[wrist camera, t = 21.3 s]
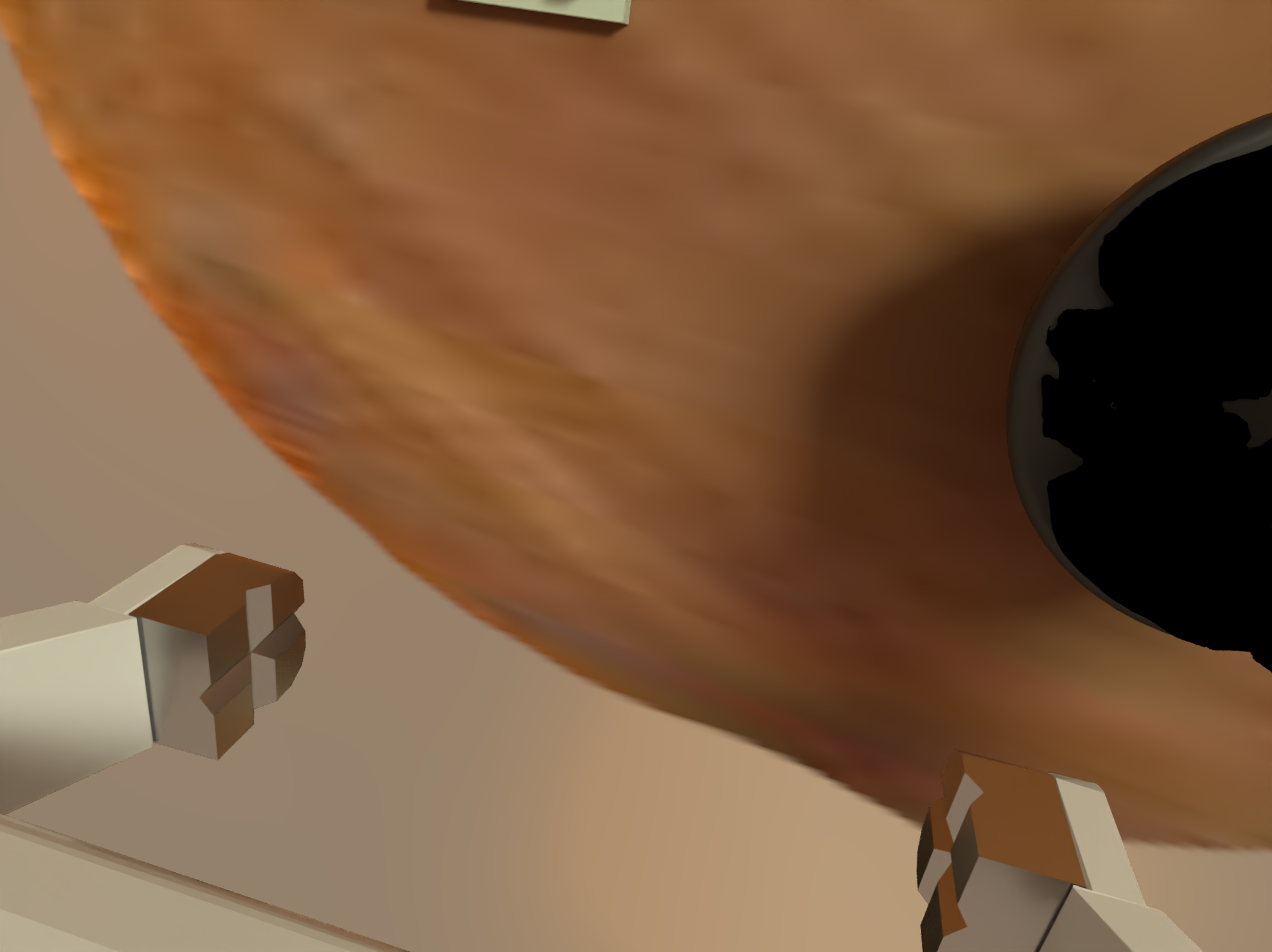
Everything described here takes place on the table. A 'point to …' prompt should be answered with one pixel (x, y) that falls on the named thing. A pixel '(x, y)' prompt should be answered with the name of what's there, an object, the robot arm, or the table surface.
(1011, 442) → the bowl of black rocks
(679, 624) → the table surface
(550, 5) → the plate stand
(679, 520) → the table surface
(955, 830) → the robot arm
